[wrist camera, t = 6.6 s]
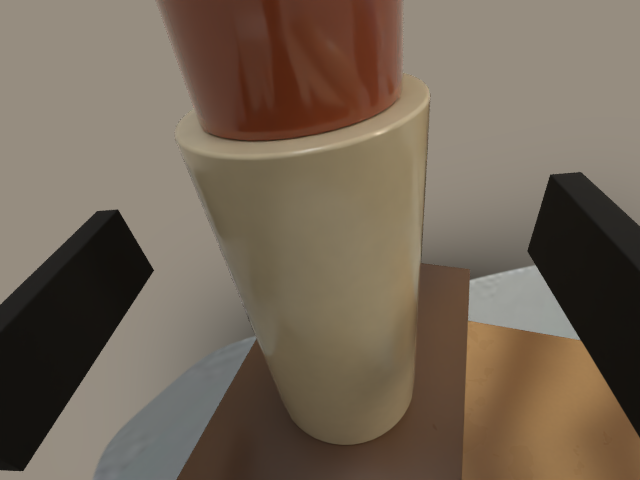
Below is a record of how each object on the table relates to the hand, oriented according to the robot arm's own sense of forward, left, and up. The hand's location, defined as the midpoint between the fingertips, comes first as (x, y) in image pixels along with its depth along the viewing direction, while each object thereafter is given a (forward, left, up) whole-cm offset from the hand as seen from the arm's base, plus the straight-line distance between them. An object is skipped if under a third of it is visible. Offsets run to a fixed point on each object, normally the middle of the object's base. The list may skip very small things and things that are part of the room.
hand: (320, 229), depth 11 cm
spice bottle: (0, 0, -8) cm, 8 cm away
